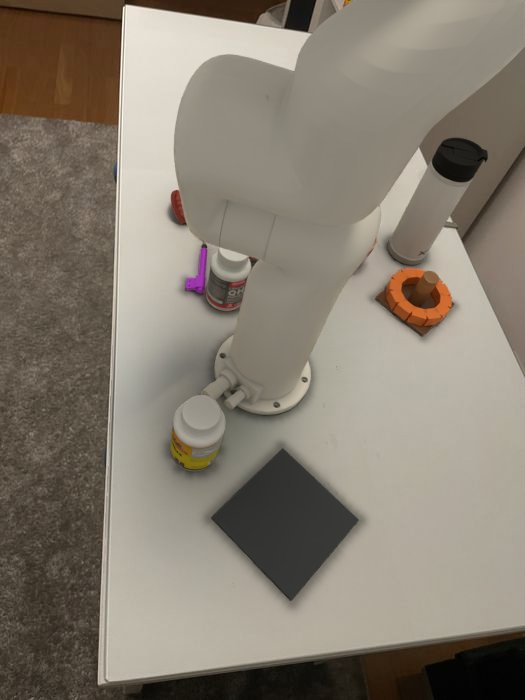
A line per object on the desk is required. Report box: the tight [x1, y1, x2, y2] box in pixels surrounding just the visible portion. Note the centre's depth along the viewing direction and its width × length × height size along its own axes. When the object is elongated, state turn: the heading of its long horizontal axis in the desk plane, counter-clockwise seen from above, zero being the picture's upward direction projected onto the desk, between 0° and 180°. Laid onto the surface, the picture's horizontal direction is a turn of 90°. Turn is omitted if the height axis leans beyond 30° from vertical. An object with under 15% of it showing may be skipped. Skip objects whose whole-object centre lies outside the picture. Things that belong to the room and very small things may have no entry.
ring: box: [385, 267, 453, 326], centre depth 83 cm, size 10×10×2 cm
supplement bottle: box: [170, 394, 227, 472], centre depth 61 cm, size 6×6×10 cm
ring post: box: [374, 270, 455, 337], centre depth 82 cm, size 9×9×6 cm
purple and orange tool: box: [185, 241, 208, 295], centre depth 81 cm, size 3×1×16 cm
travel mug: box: [387, 137, 489, 266], centre depth 82 cm, size 6×7×20 cm
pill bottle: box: [205, 247, 252, 312], centre depth 74 cm, size 5×5×10 cm
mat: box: [211, 447, 360, 601], centre depth 62 cm, size 12×12×1 cm
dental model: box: [170, 189, 187, 225], centre depth 84 cm, size 6×4×8 cm
